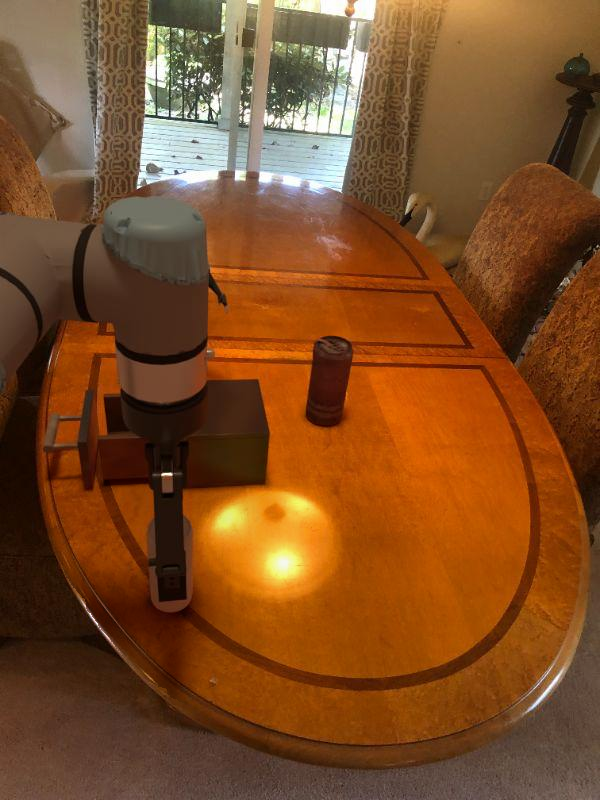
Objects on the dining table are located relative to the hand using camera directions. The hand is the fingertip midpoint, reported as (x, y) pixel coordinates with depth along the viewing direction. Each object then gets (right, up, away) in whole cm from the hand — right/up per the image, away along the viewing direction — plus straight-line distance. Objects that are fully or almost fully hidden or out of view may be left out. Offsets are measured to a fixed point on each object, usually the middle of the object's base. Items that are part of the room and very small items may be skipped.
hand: (171, 544), depth 66 cm
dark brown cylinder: (+18, +13, +36) cm, 42 cm away
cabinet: (+1, +7, +26) cm, 26 cm away
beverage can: (-1, -8, +6) cm, 10 cm away
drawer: (-12, +7, +22) cm, 27 cm away
